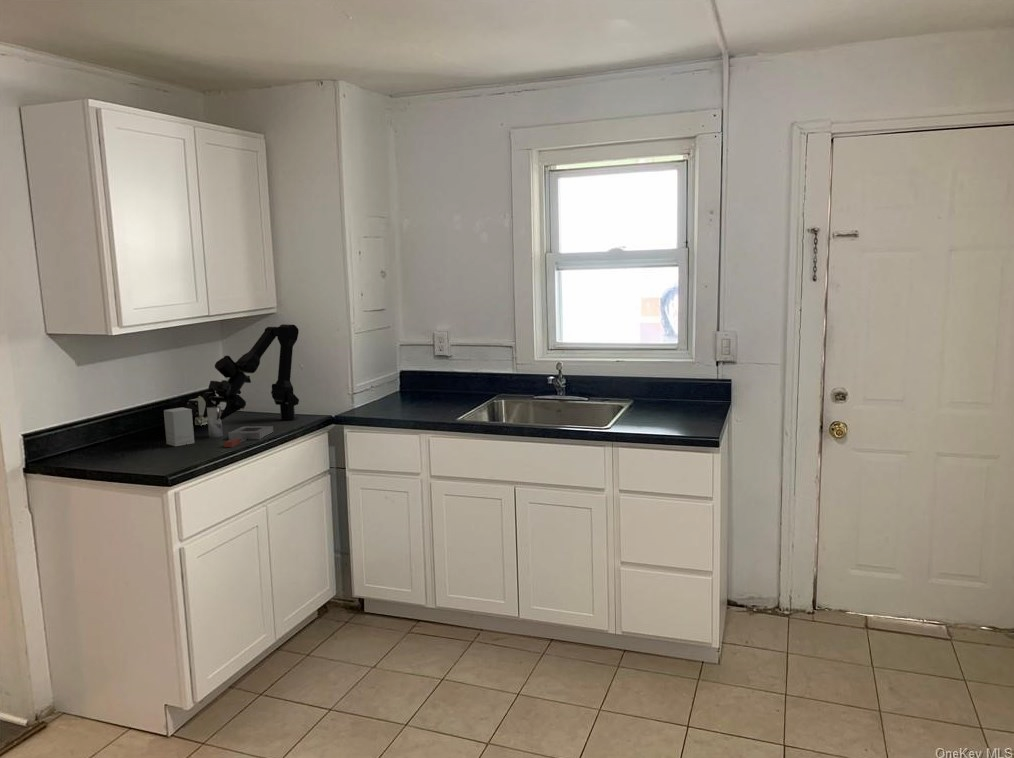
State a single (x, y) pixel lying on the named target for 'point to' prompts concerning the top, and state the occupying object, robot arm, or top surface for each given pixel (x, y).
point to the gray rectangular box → (247, 434)
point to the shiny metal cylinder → (214, 421)
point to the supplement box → (179, 426)
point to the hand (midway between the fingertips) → (212, 418)
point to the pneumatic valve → (198, 410)
